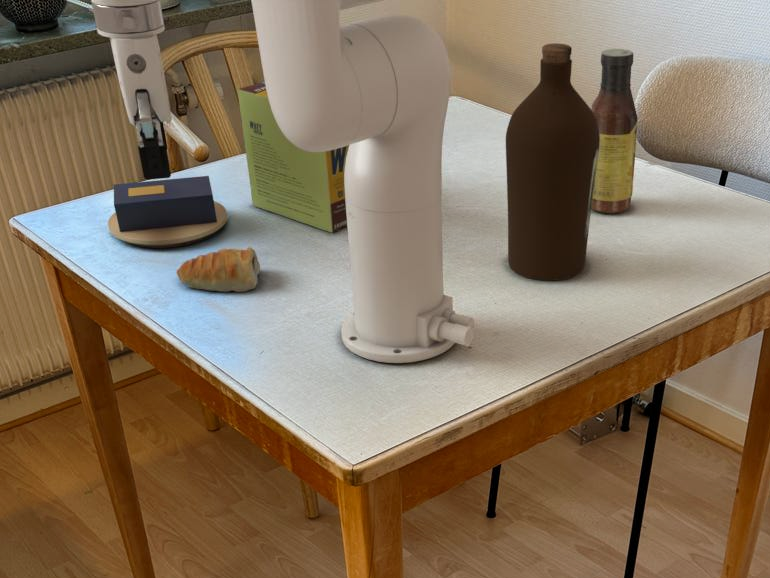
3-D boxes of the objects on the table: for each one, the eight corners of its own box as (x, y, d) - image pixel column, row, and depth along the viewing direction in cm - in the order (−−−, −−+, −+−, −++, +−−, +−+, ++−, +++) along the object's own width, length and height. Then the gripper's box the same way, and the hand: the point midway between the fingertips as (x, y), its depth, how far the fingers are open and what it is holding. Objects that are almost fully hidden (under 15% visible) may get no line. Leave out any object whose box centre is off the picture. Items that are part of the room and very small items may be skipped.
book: (222, 195, 138) (217, 163, 135) (232, 237, 127) (227, 204, 124) (108, 206, 135) (101, 174, 132) (108, 250, 123) (100, 217, 121)
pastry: (176, 296, 116) (170, 265, 113) (183, 271, 121) (177, 241, 119) (258, 292, 116) (254, 261, 114) (262, 267, 122) (258, 238, 119)
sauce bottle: (639, 210, 136) (655, 55, 124) (599, 218, 134) (612, 61, 122) (614, 194, 141) (627, 43, 129) (575, 201, 139) (585, 49, 127)
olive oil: (514, 287, 118) (520, 62, 103) (494, 250, 126) (497, 36, 111) (601, 279, 120) (619, 57, 104) (576, 243, 128) (590, 32, 112)
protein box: (333, 234, 130) (322, 111, 120) (251, 206, 137) (235, 88, 128) (387, 209, 136) (380, 91, 127) (306, 184, 144) (294, 70, 134)
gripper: (165, 34, 110) (191, 186, 121) (159, -2, 123) (183, 139, 134) (94, 37, 108) (126, 192, 119) (95, 1, 121) (124, 143, 132)
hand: (156, 164), depth 126 cm, fingers open, 9 cm apart
